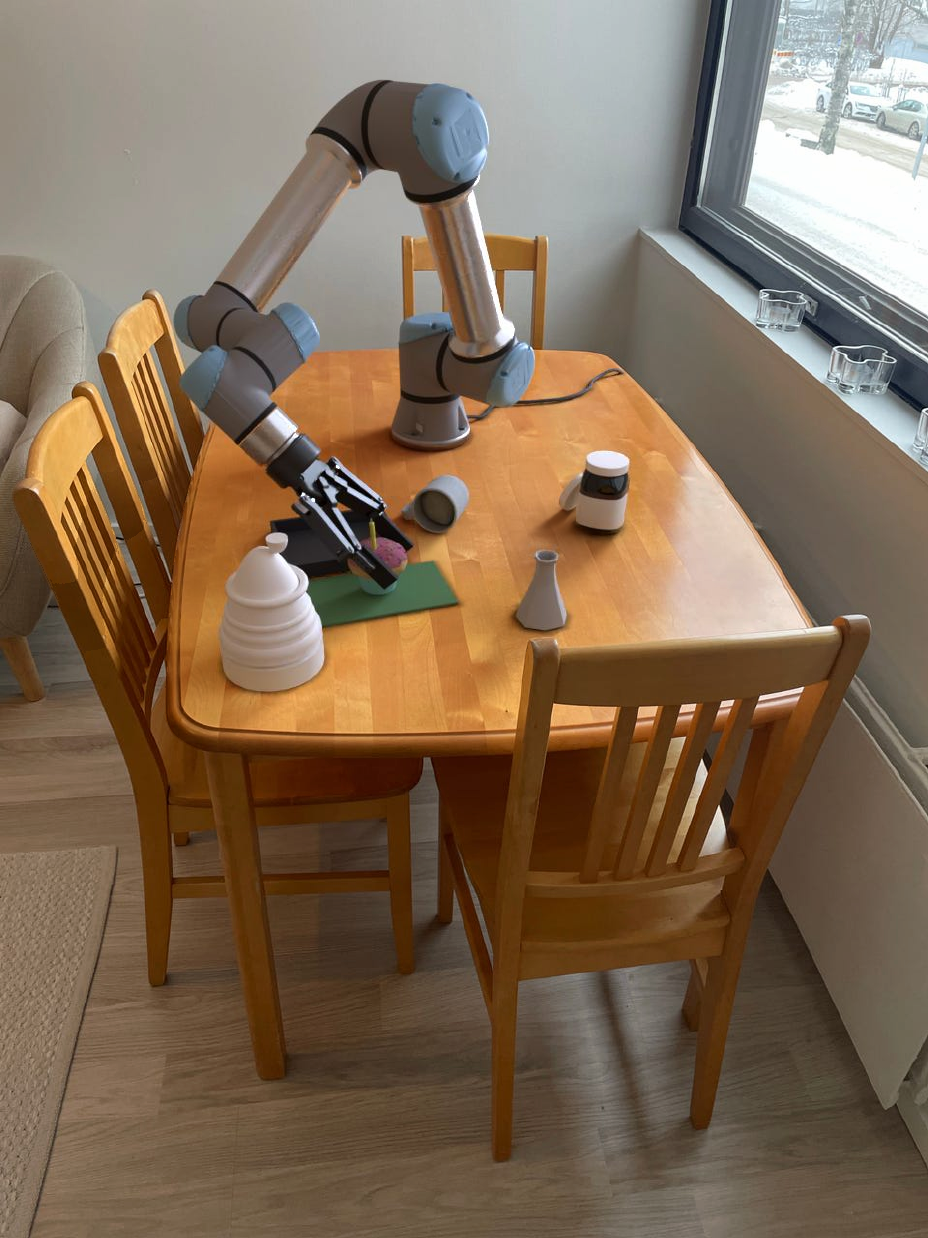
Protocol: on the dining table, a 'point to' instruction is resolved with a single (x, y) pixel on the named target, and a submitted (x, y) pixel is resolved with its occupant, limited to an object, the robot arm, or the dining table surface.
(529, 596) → the flask
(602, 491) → the spread jar
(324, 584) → the green cloth
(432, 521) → the ceramic mug
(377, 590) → the cupcake
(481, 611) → the dining table surface
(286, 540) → the honey pot
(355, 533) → the baking pan
